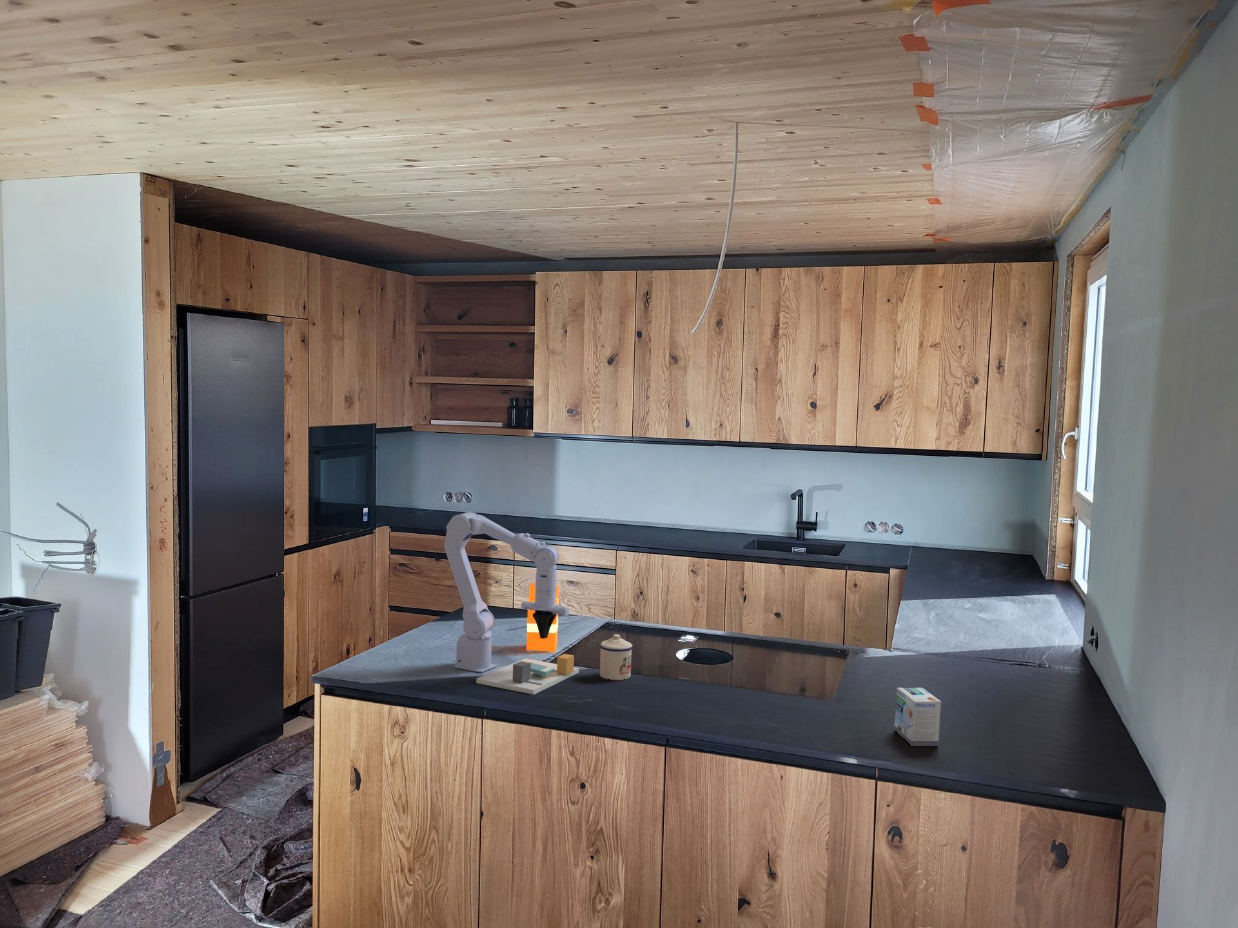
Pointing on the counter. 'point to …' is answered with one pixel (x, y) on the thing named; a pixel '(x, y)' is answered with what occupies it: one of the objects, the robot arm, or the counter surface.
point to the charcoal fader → (521, 671)
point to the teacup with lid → (615, 658)
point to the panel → (531, 686)
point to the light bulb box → (917, 714)
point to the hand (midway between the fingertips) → (543, 637)
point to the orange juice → (532, 630)
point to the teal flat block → (541, 669)
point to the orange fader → (565, 664)
